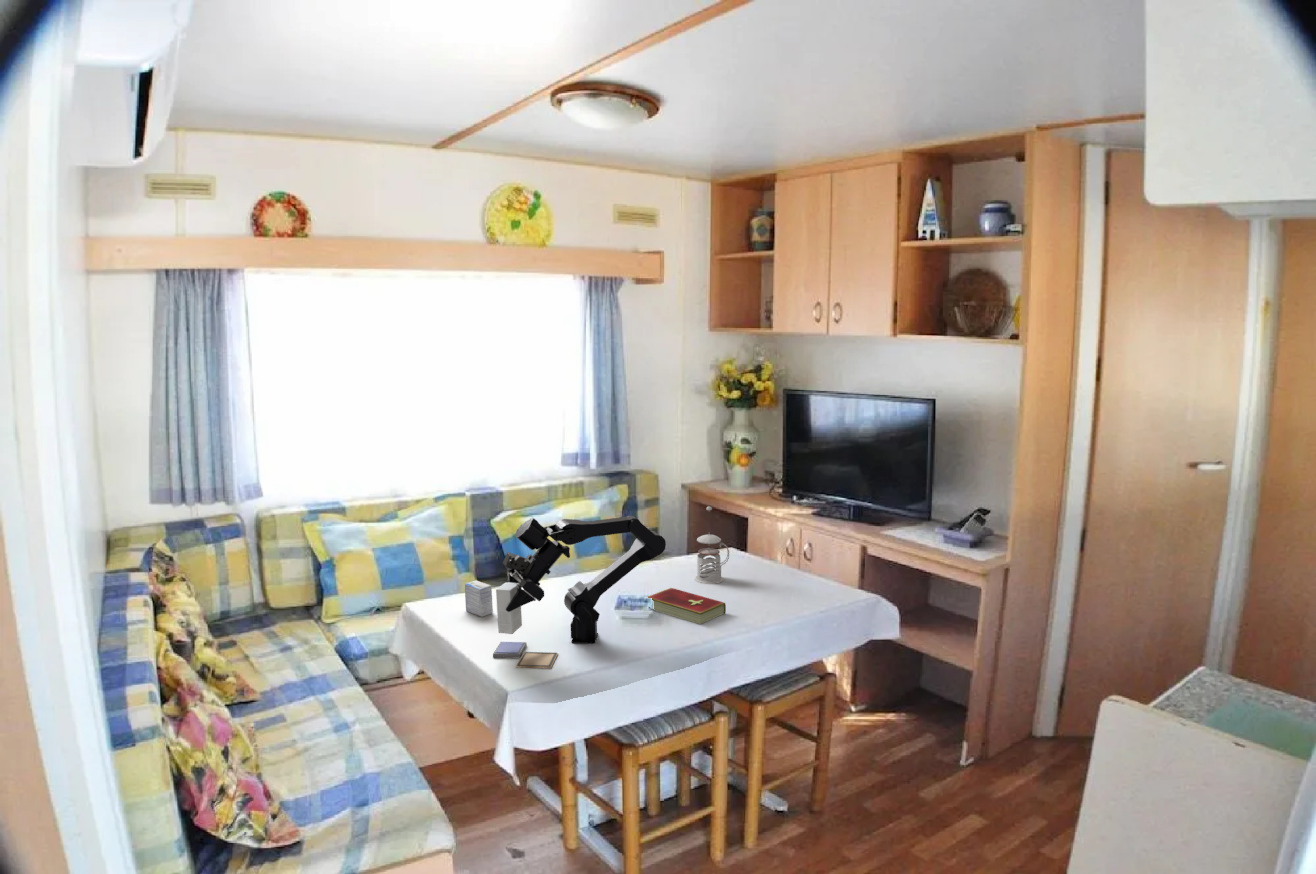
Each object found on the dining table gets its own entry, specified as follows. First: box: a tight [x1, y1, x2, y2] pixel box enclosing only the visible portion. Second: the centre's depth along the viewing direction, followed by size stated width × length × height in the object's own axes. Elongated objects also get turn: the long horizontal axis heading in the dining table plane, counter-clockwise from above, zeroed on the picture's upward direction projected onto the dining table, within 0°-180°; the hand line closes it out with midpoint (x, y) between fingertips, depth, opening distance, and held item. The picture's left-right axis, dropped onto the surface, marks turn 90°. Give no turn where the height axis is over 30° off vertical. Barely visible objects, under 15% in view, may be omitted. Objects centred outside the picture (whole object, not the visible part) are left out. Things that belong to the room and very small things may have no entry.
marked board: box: [515, 651, 559, 669], centre depth 216 cm, size 9×9×1 cm
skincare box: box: [495, 581, 523, 635], centre depth 221 cm, size 6×4×12 cm
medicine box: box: [464, 580, 494, 617], centre depth 251 cm, size 8×4×9 cm, turn 47°
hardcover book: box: [647, 587, 727, 625], centre depth 252 cm, size 12×21×4 cm, turn 49°
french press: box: [694, 506, 730, 585], centre depth 279 cm, size 10×12×25 cm
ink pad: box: [492, 641, 527, 659], centre depth 222 cm, size 7×8×1 cm
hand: (503, 606), depth 220 cm, fingers closed on skincare box, 7 cm apart
